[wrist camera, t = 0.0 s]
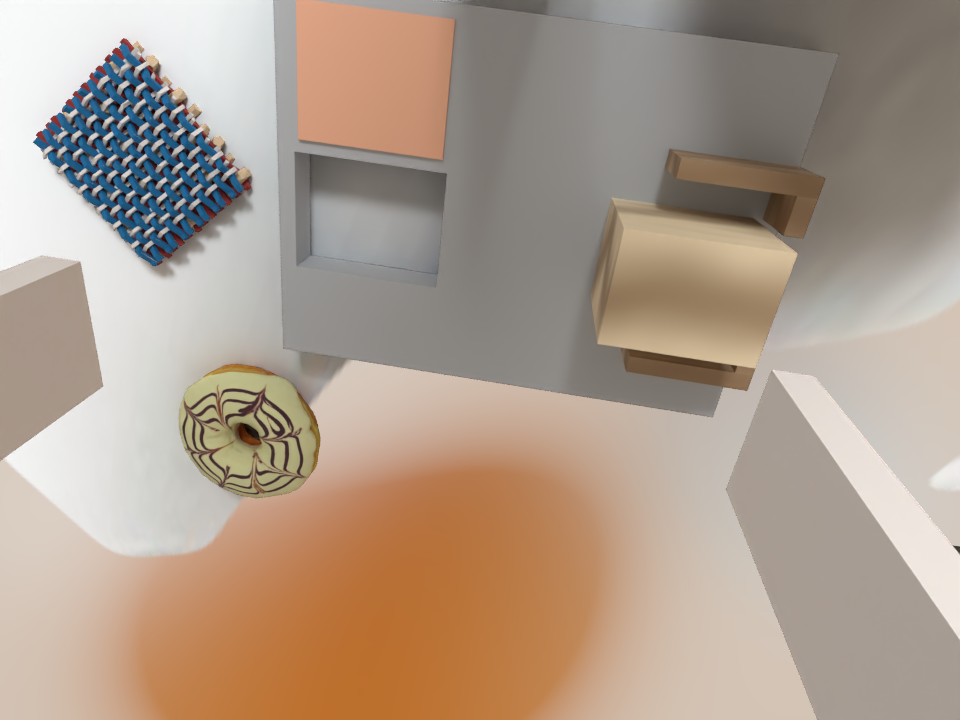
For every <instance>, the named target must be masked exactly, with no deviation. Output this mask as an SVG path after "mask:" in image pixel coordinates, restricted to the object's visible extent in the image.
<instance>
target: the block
mask: <svg viewBox="0 0 960 720" xmlns="http://www.w3.org/2000/svg"><path fill="white" fill-rule="evenodd" d="M797 255H798V253H796V252H795V251H794V250H793V249H791V248H790V247H789V246H788V245H786V244H785V243H784V242H783V241H781V240H780V239H779V238H778V237H776V236H775V235H774V234H773V233H771V232H770V231H769V230H768V229H766V228H765V227H764V226H763V225H761V224H760V223H759V222H758V221H757V220H755V219H754V218H749V217H742V216H735V215H728V214H721V213H714V212H707V211H700V210H694V209H687V208H680V207H673V206H666V205H659V204H652V203H645V202H639V201H632V200H625V199H618V198H612V199H611V203H610V208H609V213H608V217H607V222H606V226H605V231H604V236H603V240H602V245H601V250H600V254H599V259H598V263H597V268H596V273H595V277H594V282H593V286H592V291H591V296H590V297H591V303H592V310H593V317H594V324H595V331H596V337H597V344H602V345H608V346H615V347H621V348H628V349H634V350H640V351H647V352H653V353H660V354H666V355H672V356H679V357H685V358H692V359H698V360H704V361H711V362H717V363H724V364H730V365H736V366H743V367H749V368H756V366H757V363H758V360H759V358H760V355H761V352H762V350H763V347H764V344H765V341H766V339H767V336H768V333H769V331H770V328H771V325H772V323H773V320H774V317H775V314H776V312H777V309H778V306H779V304H780V301H781V298H782V295H783V293H784V290H785V287H786V285H787V282H788V279H789V277H790V274H791V271H792V268H793V266H794V263H795V260H796V258H797Z"/></svg>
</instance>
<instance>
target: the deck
mask: <svg viewBox="0 0 960 720" xmlns="http://www.w3.org/2000/svg"><path fill="white" fill-rule="evenodd" d="M273 3H274V38H275V73H276V107H277V142H278V177H279V212H280V247H281V281H282V316H283V349H289V350H296V351H302V352H308V353H314V354H321V355H327V356H333V357H339V358H345V359H352V360H359V361H364V362H370V363H377V364H383V365H389V366H396V367H402V368H408V369H414V370H420V371H427V372H433V373H439V374H445V375H452V376H458V377H464V378H470V379H477V380H483V381H490V382H496V383H502V384H508V385H514V386H521V387H527V388H533V389H539V390H545V391H551V392H558V393H564V394H570V395H576V396H583V397H589V398H595V399H601V400H607V401H614V402H620V403H627V404H633V405H639V406H645V407H651V408H658V409H664V410H671V411H676V412H682V413H689V414H695V415H702V416H707V417H713V415H714V412H715V410H716V407H717V404H718V401H719V398H720V395H721V392H722V389H723V387H720V386H714V385H707V384H701V383H695V382H688V381H682V380H676V379H669V378H663V377H657V376H650V375H644V374H638V373H631V372H626V370H625V366H624V361H623V357H622V352H621V348H620V347H615V346H608V345H602V344H597V337H596V331H595V324H594V317H593V310H592V303H591V297H590V296H591V291H592V286H593V282H594V277H595V273H596V268H597V263H598V259H599V254H600V250H601V245H602V240H603V236H604V231H605V226H606V222H607V217H608V213H609V208H610V203H611V199H612V198H618V199H625V200H632V201H639V202H645V203H652V204H659V205H666V206H673V207H680V208H687V209H694V210H700V211H707V212H714V213H721V214H728V215H735V216H742V217H749V218H754V219H755V220H757V221H758V222H759V223H760V224H761V225H763V226H764V227H765V228H766V229H768V230H769V231H770V232H771V233H773V234H774V235H775V236H776V234H777V230H775V229H774V228H773V227H772V226H770V225H769V224H768V223H766V222H765V221H764V220H763V217H764V214H765V211H766V208H767V205H768V202H769V199H770V196H771V192H764V191H757V190H750V189H743V188H736V187H729V186H722V185H715V184H708V183H701V182H694V181H687V180H680V179H676V178H675V177H674V176H673V175H672V174H671V173H670V172H669V171H668V170H667V169H666V168H665V165H666V161H667V157H668V153H669V149H674V150H682V151H689V152H696V153H703V154H710V155H717V156H724V157H731V158H738V159H745V160H752V161H759V162H767V163H774V164H781V165H788V166H795V167H800V165H801V162H802V159H803V156H804V154H805V151H806V148H807V145H808V142H809V139H810V136H811V133H812V131H813V128H814V125H815V122H816V119H817V116H818V113H819V110H820V108H821V105H822V102H823V99H824V96H825V93H826V90H827V87H828V84H829V82H830V79H831V76H832V73H833V70H834V67H835V64H836V61H837V59H838V56H839V54H838V53H831V52H823V51H816V50H808V49H800V48H793V47H785V46H778V45H770V44H763V43H755V42H748V41H740V40H733V39H725V38H718V37H710V36H702V35H695V34H687V33H680V32H672V31H665V30H657V29H650V28H642V27H635V26H627V25H619V24H612V23H604V22H597V21H589V20H582V19H574V18H567V17H559V16H552V15H544V14H537V13H529V12H521V11H514V10H506V9H499V8H491V7H484V6H476V5H469V4H461V3H454V2H446V1H438V0H273ZM310 154H315V155H322V156H329V157H336V158H343V159H350V160H356V161H363V162H370V163H377V164H384V165H391V166H398V167H405V168H412V169H418V170H425V171H432V172H439V173H446V174H447V178H446V189H445V200H444V210H443V221H442V232H441V243H440V253H439V264H438V274H431V273H425V272H418V271H412V270H405V269H398V268H392V267H385V266H379V265H372V264H366V263H359V262H353V261H346V260H340V259H333V258H327V257H320V256H314V255H311V254H310Z"/></svg>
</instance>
